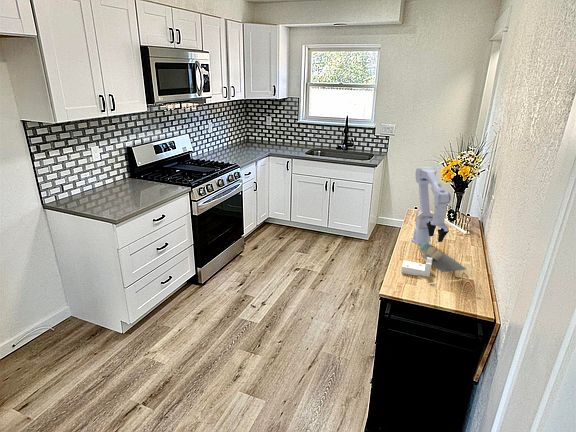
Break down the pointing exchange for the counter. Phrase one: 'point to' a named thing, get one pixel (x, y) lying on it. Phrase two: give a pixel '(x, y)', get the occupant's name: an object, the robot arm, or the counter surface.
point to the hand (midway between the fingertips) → (435, 238)
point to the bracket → (417, 268)
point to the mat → (445, 263)
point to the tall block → (430, 251)
